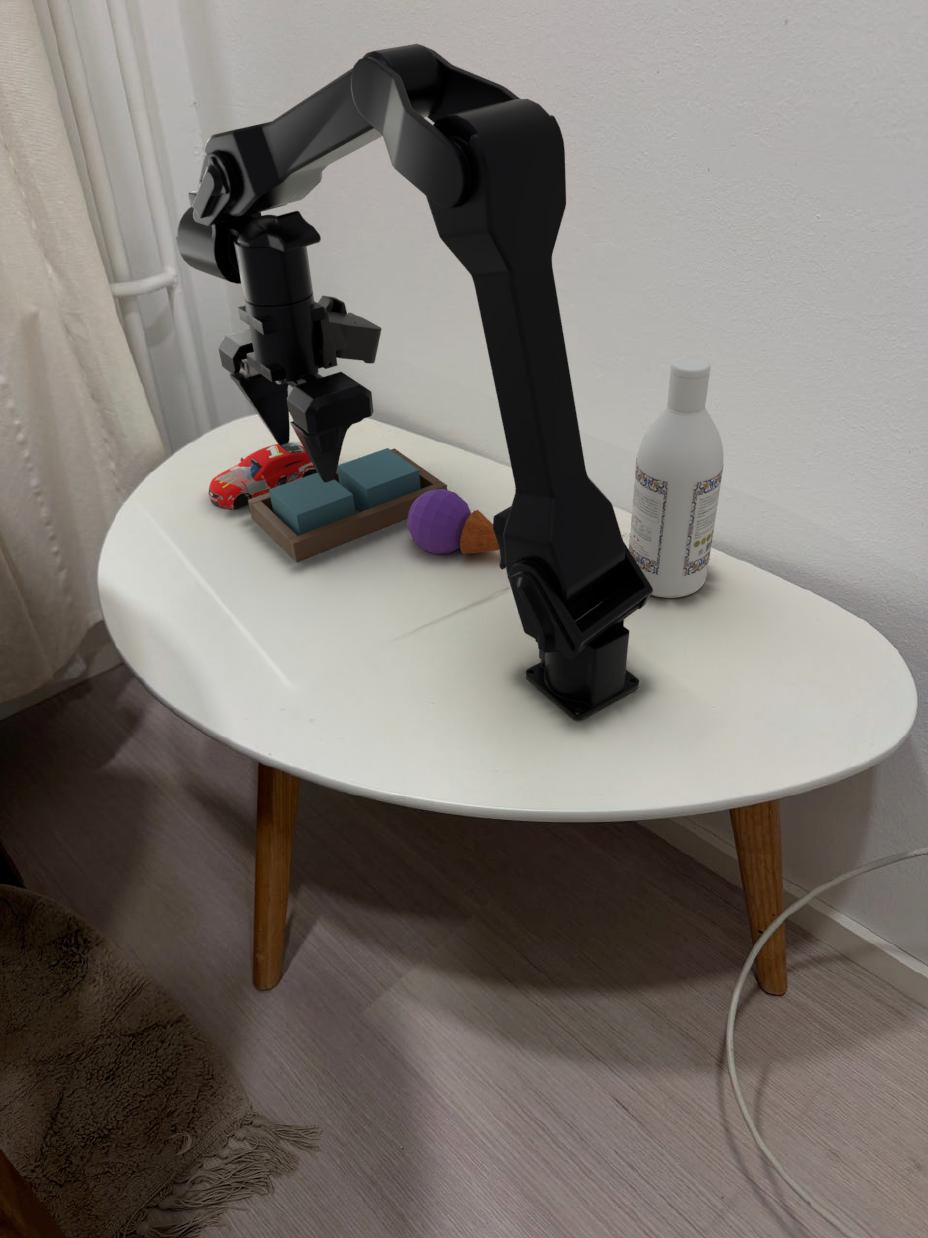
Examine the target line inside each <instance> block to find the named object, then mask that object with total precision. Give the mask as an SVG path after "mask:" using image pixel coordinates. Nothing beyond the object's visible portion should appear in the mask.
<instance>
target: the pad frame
mask: <svg viewBox="0 0 928 1238" xmlns="http://www.w3.org/2000/svg"><path fill="white" fill-rule="evenodd" d="M390 450H392V451H393V452H394V453H396V454H397V455H399V456H400V457H401V458H403V459H404V460H406V461H407V462H408V463H410V464H411V465H413V466H414V467H415V468H417V469H418V470H419V477H420V490H418V491H415V492H412V493H410V494H407V495H404V496H402V497H399V498H397V499H394V500H391V501H389V502H386V503H383V504H381V505H378V506H376V507H373V508H370V509H368V510H365V511H362V512H360V511H359V510H358V509H357V508H356V507H355V515H352V516H349V517H347V518H344V519H341V520H339V521H336V522H333V523H331V524H328V525H326V526H323V527H320V528H318V529H315V530H312V531H310V532H307V533H305V534H302V535H299V536H297V535H296V534H295V533H294V532H293V531H292V530H291V529H290V528H289V527H288V526H287V525H286V524H285V523H284V522H283V521H282V520H281V519H279V518H278V517H277V516H276V515H275V514H274V513H273V508H272V503H271V498H270V492H269V493H266V494H263V495H260V496H257V497H255V498H252V499H249V500H248V503H249V505H248V508H249V513H250V518H251V519H252V520H253V521H254V522H255V523H256V524H257V525H258V526H259V527H260V528H261V529H262V530H263V531H264V532H265V533H266V534H267V535H268V536H269V537H270V538H271V539H272V540H273V541H274V542H275V543H277V545H278V546H279V547H280V548H281V549H282V550H283V551H284V552H285V553H286V554H287V555H288V556H289V557H290V558H291V559H292V560H293V561H295V563H299V562H301V561H304V560H307V559H309V558H312V557H314V556H317V555H319V554H322V553H326V552H328V551H330V550H332V549H335V548H338V547H339V546H342V545H345V544H347V543H351V542H353V541H355V540H357V539H360V538H362V537H365V536H368V535H370V534H373V533H375V532H378V531H381V530H383V529H385V528H388V527H392V526H394V525H396V524H399V523H400V522H403V521H407V518H408V513H409V511H410V508H411V506H412V504H413V502H414V501H415V500H416V499H417V498H418V497H419V496H421V495H422V494H424V493H425V492H427V491H431V490H439V489H445V490H448V484H446V483H445V482H443V481H442V480H440V479H439V478H438V477H436V476H435V475H434V474H432V473H430V472H429V471H428V470H426V469H425V468H424V467H422V466H421V465H419V464H417V462H415V461H413V460H412V459H410V457H407V456H406V455H405V454H404V453H402V452H400V451H399V450H398V449H396V448H392V449H390ZM334 480H336V481H337V482H338V483H339V477H338V469H337V472H336V476H335V479H334Z"/></svg>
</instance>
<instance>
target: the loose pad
mask: <svg viewBox="0 0 928 1238" xmlns="http://www.w3.org/2000/svg"><path fill="white" fill-rule="evenodd" d="M269 492H270V498H271V503H272V508H273V513H274V514H275V515H276V516H277V517H278V518H279V519H281V520H282V521H283V522H284V523H285V524H286V525H287V526H288V527H289V528H290V529H291V530H292V531H293V532H294V533H295V534H296V535H297V536H299V535H302V534H305V533H307V532H310V531H312V530H315V529H318V528H320V527H323V526H326V525H328V524H331V523H333V522H336V521H339V520H341V519H344V518H347V517H349V516H352V515H355V507H354V499H353V494H352V493H350V492H349V491H348V490H347V489H345V488H344V487H343V486H342V485H341V484H339V483H338V482H337V481H336V480H332V481H329V482H326V483H325V482H323V481H322V479H321V477H320V476H319V474H318V473H315V474H312V475H309V476H306V477H304V478H301V479H298V480H295V481H292V482H289V483H286V484H284V485H281V486H278V487H275V488H272V489H269Z"/></svg>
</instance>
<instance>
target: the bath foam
mask: <svg viewBox="0 0 928 1238" xmlns="http://www.w3.org/2000/svg"><path fill="white" fill-rule="evenodd" d="M669 371H670V372H669V381H668V391H667V403H666V405H665V407H663V408H662V409H661V411H660V412H659V413H658V414H657V416H656V417H655V418H654V419H653V420H652V421H651V423H650V424H649V426H648V427H647V428H646V430H645V432H644V434H643V436H642V438H641V440H640V443H639V446H638V450H637V454H636V459H635V470H634V484H633V493H632V494H633V495H632V507H631V517H630V518H631V519H630V528H629V529H630V531H629V540H628V541H629V542H628V543H629V544H628V549H629V551H630V552H631V554H632V556H633V557H634V559H635V561H636V562H637V564H638V565H639V567H640V569H641V570H642V572H643V573H644V575H645V577H646V578H647V580H648V581H649V583H650V585H651V586H652V588H653V592H652V594H651V596H654V597H659V598H665V599H666V598H667V599H672V598H673V599H674V598H675V599H676V598H682V597H686V596H689V595H692V594H694V593H696V592H697V591H698V590H700V589H702V587H703V585H704V584H705V582H706V580H707V576H708V570H709V563H710V557H711V551H712V545H713V538H714V531H715V525H716V524H715V523H716V518H717V511H718V505H719V498H720V492H721V486H722V477H723V471H724V460H725V459H724V456H725V455H724V446H723V442H722V437H721V435H720V431H719V430H718V428H717V426H716V424H715V422H714V420H713V419H712V417H711V415H710V413H709V411H708V410H707V408H706V403H707V397H708V388H709V381H710V375H711V374H710V373H711V362H710V361H709V360H708V359H706V358H705V357H701V356H697V355H683V356H679V357H676V358H674V359H673V360H672V361H671V364H670V370H669Z"/></svg>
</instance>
